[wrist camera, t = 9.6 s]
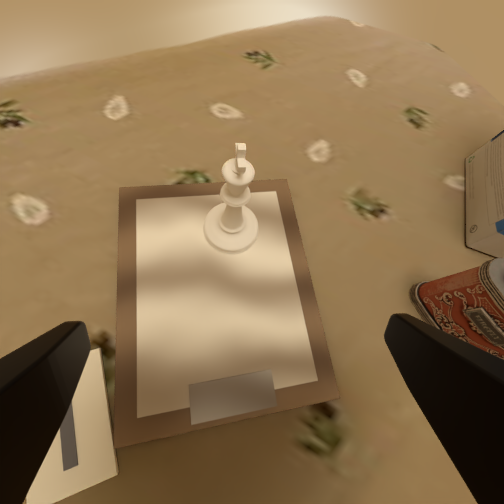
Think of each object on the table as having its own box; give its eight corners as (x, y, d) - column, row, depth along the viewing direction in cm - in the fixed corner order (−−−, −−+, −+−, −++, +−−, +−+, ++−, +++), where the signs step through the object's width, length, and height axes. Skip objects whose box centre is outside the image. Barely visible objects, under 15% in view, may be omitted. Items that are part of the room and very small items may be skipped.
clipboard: (336, 396, 20) (343, 399, 19) (116, 445, 17) (110, 452, 16) (285, 182, 26) (288, 175, 25) (121, 191, 23) (117, 184, 22)
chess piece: (204, 255, 21) (196, 185, 12) (202, 205, 23) (193, 110, 14) (261, 252, 22) (293, 185, 13) (255, 204, 24) (279, 113, 15)
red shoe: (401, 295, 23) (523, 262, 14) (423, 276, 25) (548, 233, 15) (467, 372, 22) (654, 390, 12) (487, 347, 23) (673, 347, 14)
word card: (118, 472, 16) (116, 475, 16) (30, 511, 15) (25, 515, 15) (100, 347, 19) (98, 348, 18) (23, 373, 17) (19, 373, 17)
